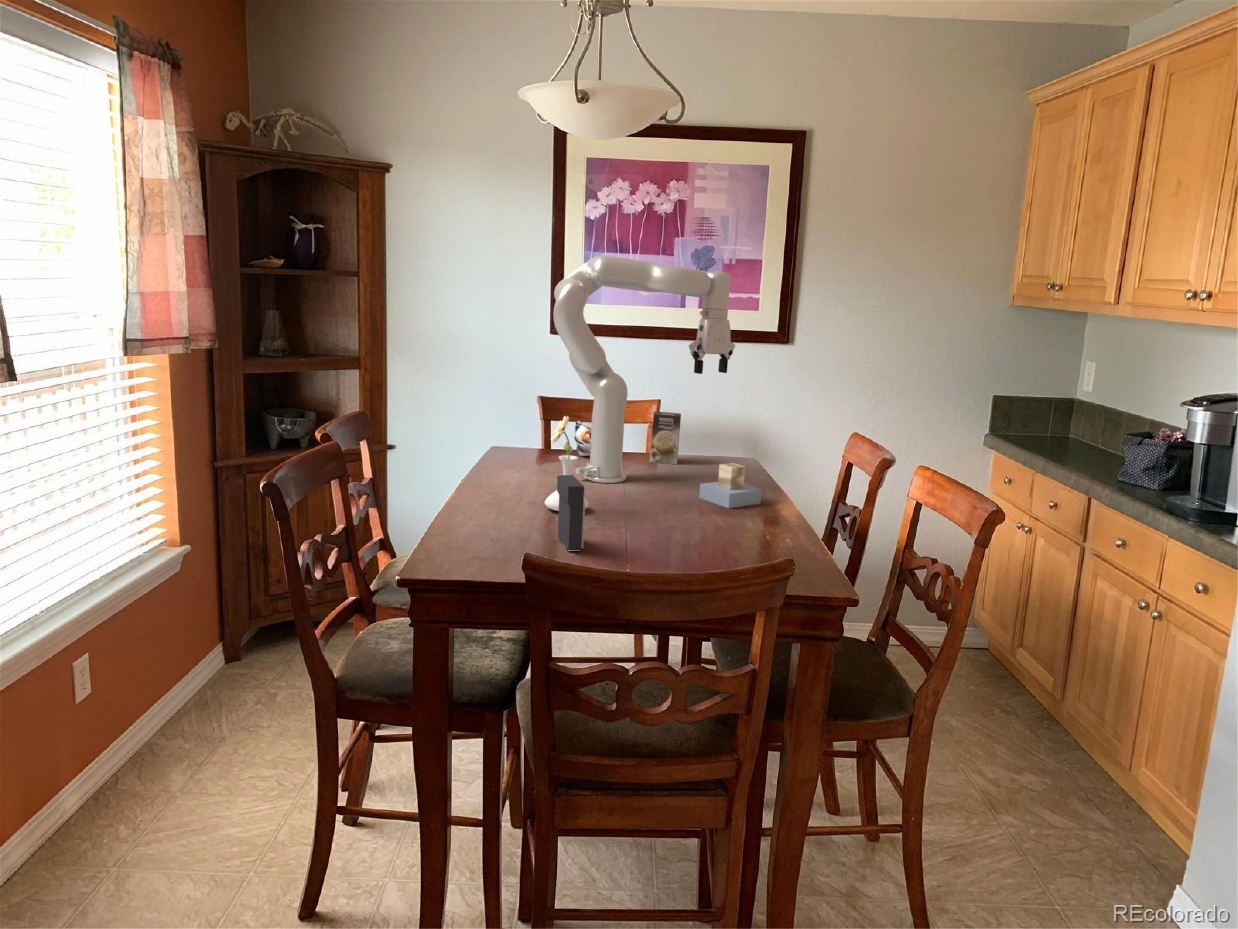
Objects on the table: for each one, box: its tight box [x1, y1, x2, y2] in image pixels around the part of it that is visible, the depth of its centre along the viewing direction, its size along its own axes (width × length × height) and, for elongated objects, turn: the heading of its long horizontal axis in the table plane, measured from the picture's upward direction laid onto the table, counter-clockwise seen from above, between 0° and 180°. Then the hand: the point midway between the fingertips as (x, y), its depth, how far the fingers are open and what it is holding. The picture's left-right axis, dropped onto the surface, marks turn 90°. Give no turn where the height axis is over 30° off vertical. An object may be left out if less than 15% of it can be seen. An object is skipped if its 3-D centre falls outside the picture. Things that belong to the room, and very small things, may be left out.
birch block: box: [717, 462, 746, 490], centre depth 251 cm, size 5×5×6 cm
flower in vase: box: [544, 415, 590, 512], centre depth 231 cm, size 13×11×25 cm
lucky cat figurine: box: [573, 420, 592, 457], centre depth 300 cm, size 15×12×14 cm
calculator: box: [556, 474, 586, 551], centre depth 204 cm, size 11×4×15 cm, turn 17°
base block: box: [698, 481, 763, 509], centre depth 252 cm, size 12×12×4 cm
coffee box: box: [649, 411, 682, 465], centre depth 297 cm, size 9×6×16 cm
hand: (710, 372), depth 271 cm, fingers open, 9 cm apart
